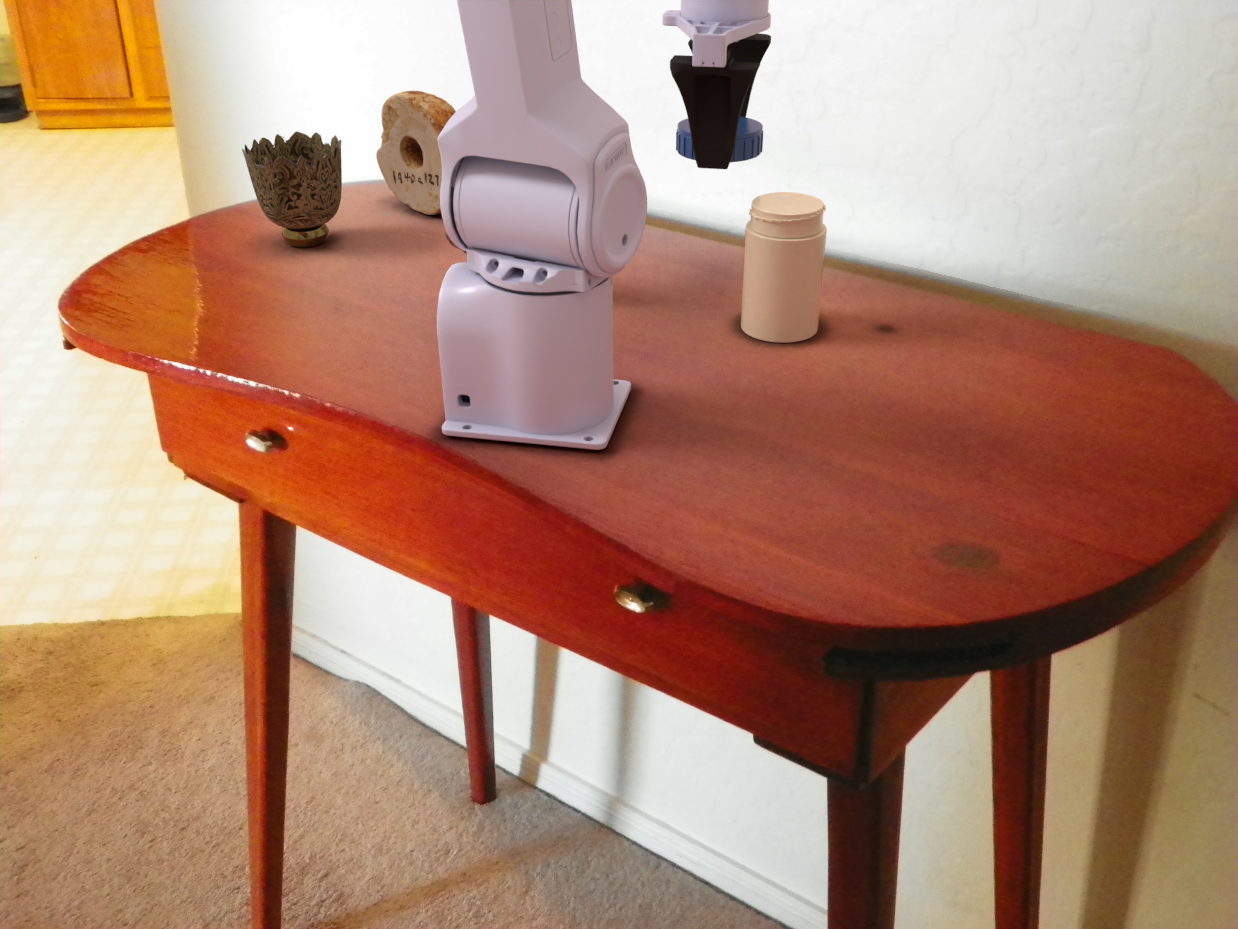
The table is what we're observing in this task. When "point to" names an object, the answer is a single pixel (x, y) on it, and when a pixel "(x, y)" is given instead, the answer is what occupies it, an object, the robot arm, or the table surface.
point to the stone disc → (413, 148)
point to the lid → (745, 143)
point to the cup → (297, 184)
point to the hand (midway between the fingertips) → (719, 154)
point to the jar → (783, 267)
